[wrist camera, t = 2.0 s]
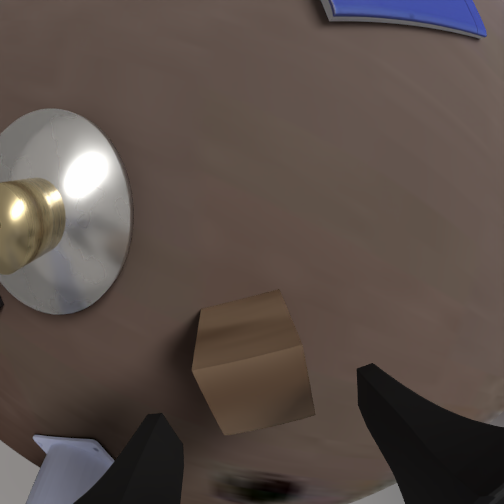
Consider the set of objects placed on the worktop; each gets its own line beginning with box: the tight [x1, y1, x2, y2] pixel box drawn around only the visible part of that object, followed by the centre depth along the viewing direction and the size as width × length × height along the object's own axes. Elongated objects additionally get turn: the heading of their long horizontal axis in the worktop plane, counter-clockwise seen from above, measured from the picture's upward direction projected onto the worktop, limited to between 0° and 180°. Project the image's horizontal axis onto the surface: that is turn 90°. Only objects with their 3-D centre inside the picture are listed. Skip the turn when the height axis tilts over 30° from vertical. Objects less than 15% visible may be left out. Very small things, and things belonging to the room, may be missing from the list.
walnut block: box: [192, 289, 315, 436], centre depth 13 cm, size 4×4×5 cm
